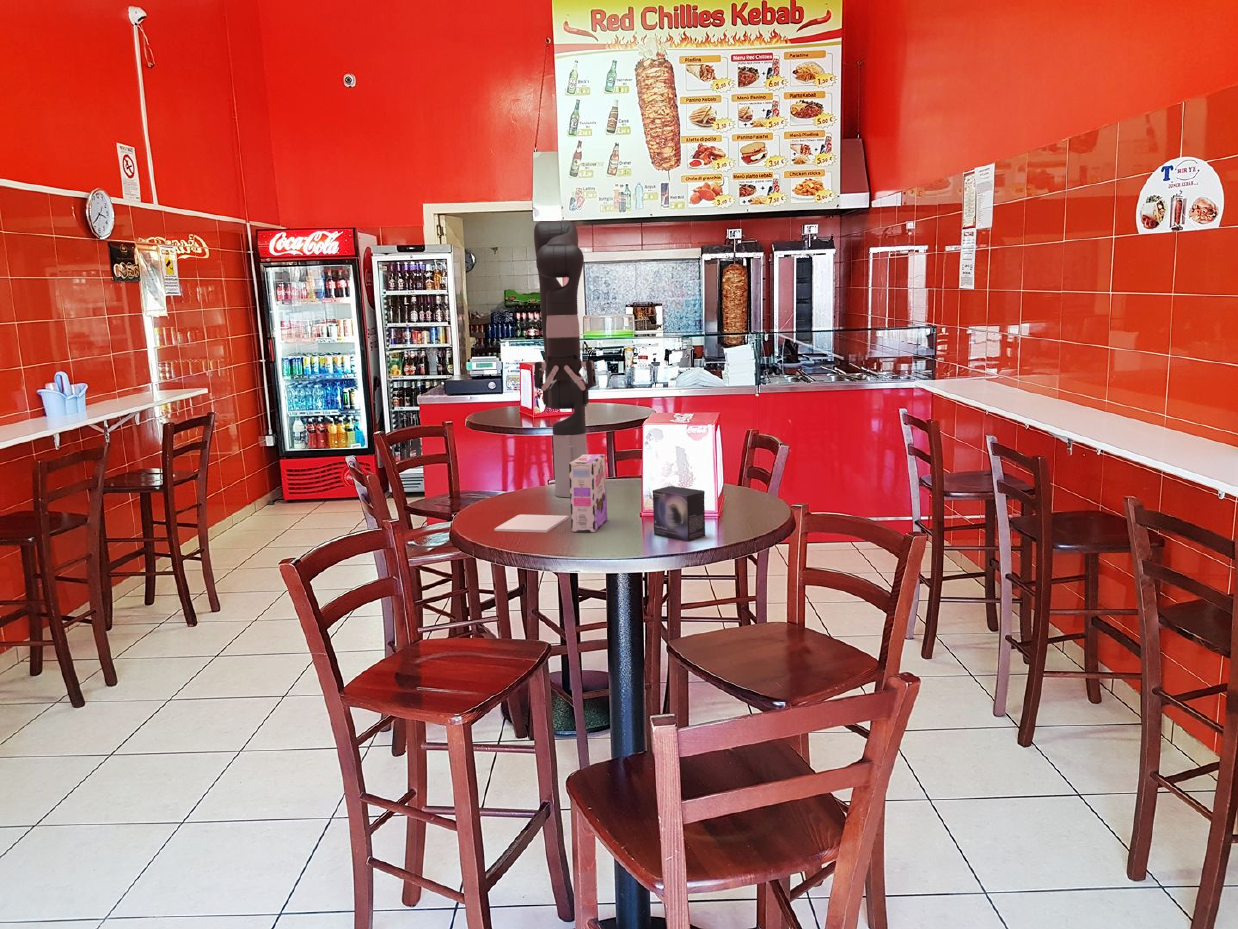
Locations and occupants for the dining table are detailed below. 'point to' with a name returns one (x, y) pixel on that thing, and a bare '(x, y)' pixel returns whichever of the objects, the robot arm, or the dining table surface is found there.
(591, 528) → the candy box
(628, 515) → the dining table surface
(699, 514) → the small box
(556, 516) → the mat
